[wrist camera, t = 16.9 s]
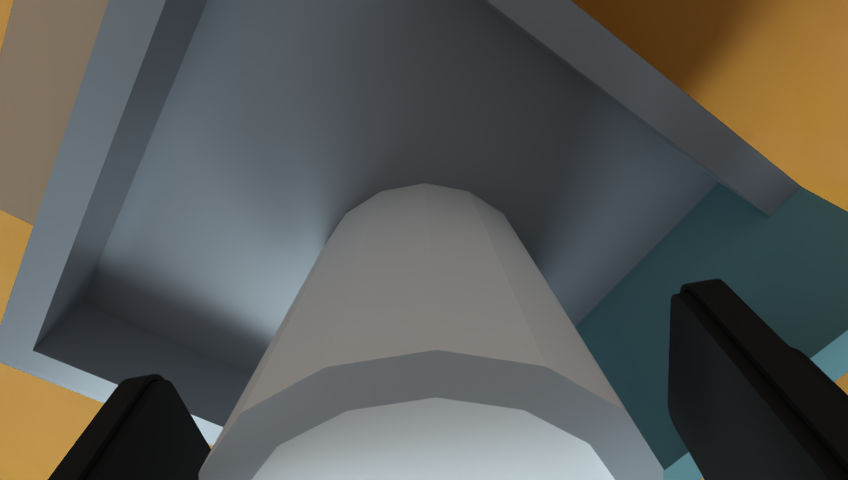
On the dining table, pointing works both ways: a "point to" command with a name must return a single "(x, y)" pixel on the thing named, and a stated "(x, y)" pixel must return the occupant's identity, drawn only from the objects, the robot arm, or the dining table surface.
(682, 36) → the dining table surface
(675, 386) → the robot arm
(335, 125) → the cart
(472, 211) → the white tapered cup
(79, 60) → the track
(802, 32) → the dining table surface
